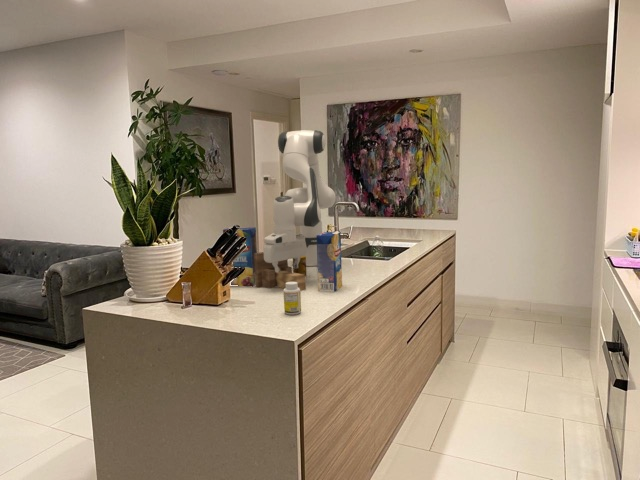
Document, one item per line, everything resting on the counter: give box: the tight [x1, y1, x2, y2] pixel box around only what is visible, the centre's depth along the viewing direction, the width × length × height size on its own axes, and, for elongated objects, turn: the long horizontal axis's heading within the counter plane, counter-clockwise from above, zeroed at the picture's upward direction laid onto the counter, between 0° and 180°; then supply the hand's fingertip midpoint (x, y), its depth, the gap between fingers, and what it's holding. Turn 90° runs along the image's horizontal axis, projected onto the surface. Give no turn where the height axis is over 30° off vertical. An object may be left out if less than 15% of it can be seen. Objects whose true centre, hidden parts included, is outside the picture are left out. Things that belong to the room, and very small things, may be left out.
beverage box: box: [316, 231, 343, 293], centre depth 196 cm, size 7×11×22 cm, turn 164°
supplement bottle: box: [283, 282, 302, 316], centre depth 163 cm, size 6×6×10 cm
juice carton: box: [222, 226, 258, 288], centre depth 208 cm, size 12×8×24 cm, turn 80°
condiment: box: [292, 256, 310, 278], centre depth 222 cm, size 7×8×12 cm
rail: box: [275, 270, 307, 292], centre depth 200 cm, size 16×4×6 cm, turn 43°
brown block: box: [254, 251, 293, 289], centre depth 206 cm, size 7×16×14 cm, turn 133°
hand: (286, 270), depth 201 cm, fingers open, 8 cm apart
